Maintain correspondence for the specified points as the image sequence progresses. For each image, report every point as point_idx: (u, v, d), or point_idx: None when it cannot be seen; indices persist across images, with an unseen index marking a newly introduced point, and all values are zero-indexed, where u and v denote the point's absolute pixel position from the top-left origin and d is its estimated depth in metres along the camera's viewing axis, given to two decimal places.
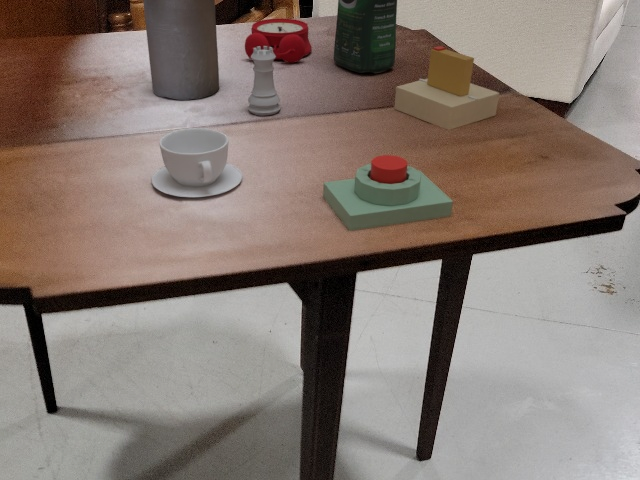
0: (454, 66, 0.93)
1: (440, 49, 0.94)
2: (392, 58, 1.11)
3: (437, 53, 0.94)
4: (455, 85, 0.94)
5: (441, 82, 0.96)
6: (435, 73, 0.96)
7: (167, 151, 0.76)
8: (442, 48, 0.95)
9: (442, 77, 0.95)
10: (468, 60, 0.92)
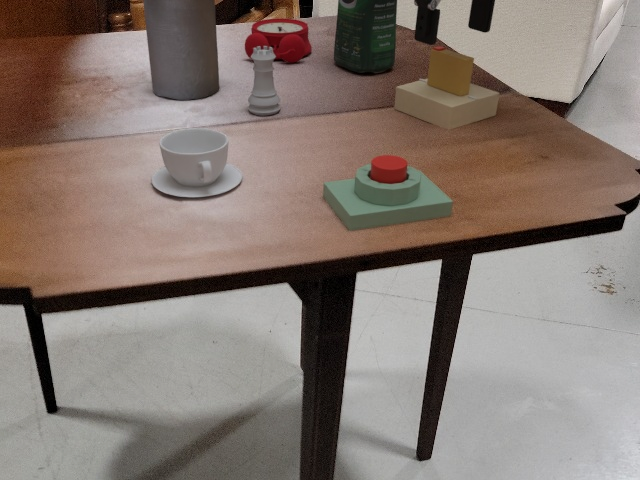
0: (454, 66, 0.93)
1: (440, 49, 0.94)
2: (392, 58, 1.11)
3: (437, 53, 0.94)
4: (455, 85, 0.94)
5: (441, 82, 0.96)
6: (435, 73, 0.96)
7: (167, 151, 0.76)
8: (442, 48, 0.95)
9: (442, 77, 0.95)
10: (468, 60, 0.92)
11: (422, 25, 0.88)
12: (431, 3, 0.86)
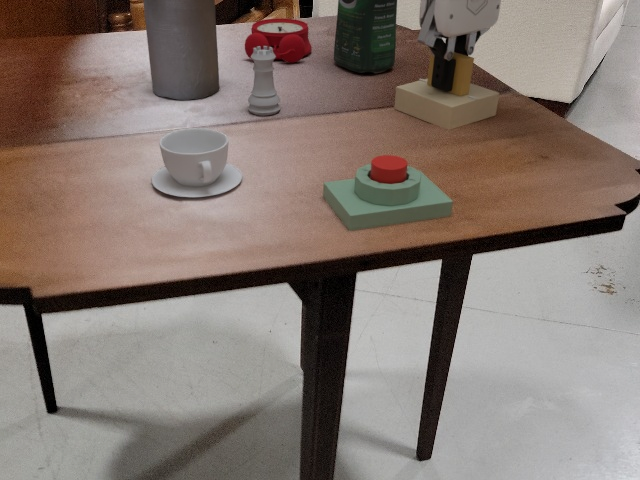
0: None
1: None
2: (392, 58, 1.11)
3: None
4: (455, 85, 0.94)
5: None
6: None
7: (167, 151, 0.76)
8: None
9: None
10: (468, 60, 0.92)
11: (438, 74, 0.94)
12: (447, 57, 0.91)
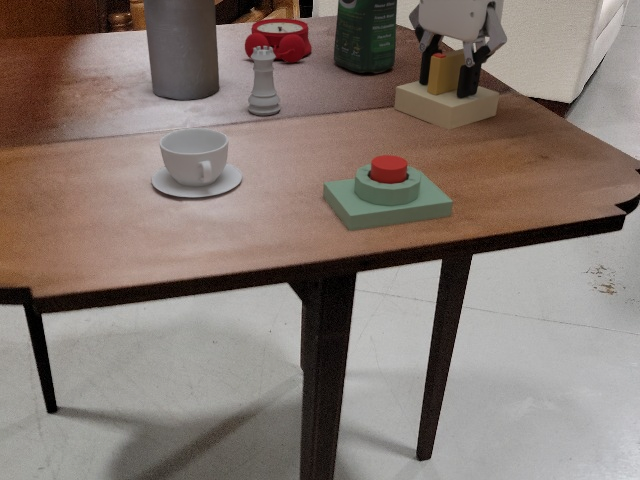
0: (462, 62, 0.94)
1: (443, 55, 0.92)
2: (392, 58, 1.11)
3: (447, 59, 0.92)
4: None
5: (450, 84, 0.95)
6: (444, 79, 0.94)
7: (167, 151, 0.76)
8: None
9: (451, 79, 0.95)
10: None
11: (474, 81, 0.92)
12: None
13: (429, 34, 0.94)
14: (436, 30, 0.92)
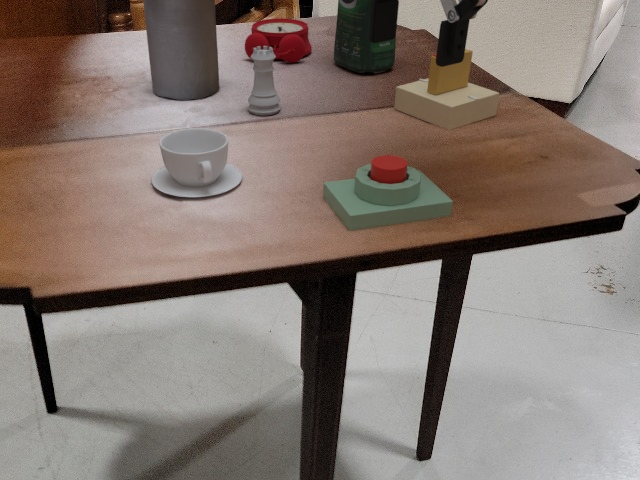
0: (462, 62, 0.94)
1: None
2: (392, 58, 1.11)
3: None
4: (463, 79, 0.96)
5: (450, 84, 0.95)
6: (444, 79, 0.94)
7: (167, 151, 0.76)
8: None
9: (451, 79, 0.95)
10: None
11: (460, 43, 0.68)
12: None
13: None
14: None
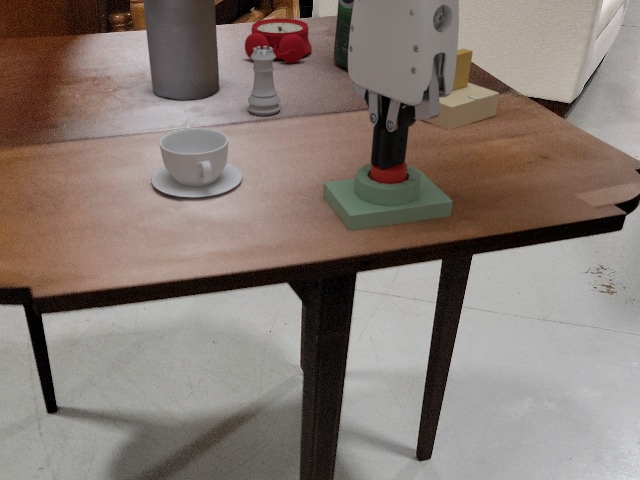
0: (462, 62, 0.94)
1: None
2: None
3: None
4: (463, 79, 0.96)
5: None
6: None
7: (167, 151, 0.76)
8: None
9: None
10: None
11: (400, 148, 0.71)
12: (413, 122, 0.70)
13: (375, 96, 0.69)
14: (369, 87, 0.68)
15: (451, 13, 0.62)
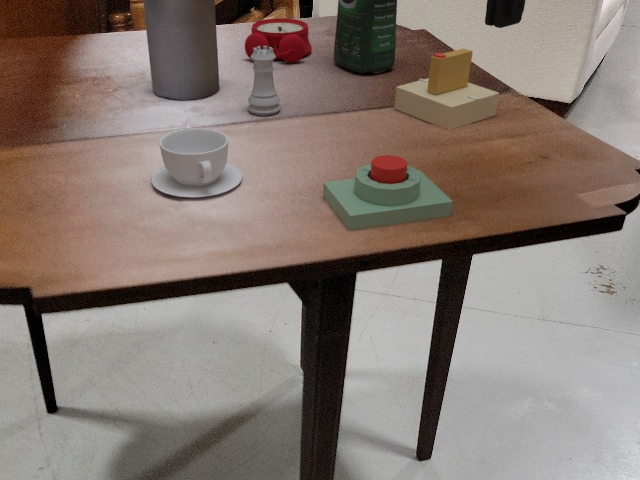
0: (462, 62, 0.94)
1: (443, 55, 0.92)
2: (392, 58, 1.11)
3: (447, 59, 0.92)
4: (463, 79, 0.96)
5: (450, 84, 0.95)
6: (444, 79, 0.94)
7: (167, 151, 0.76)
8: None
9: (451, 79, 0.95)
10: None
11: (519, 2, 0.65)
12: None
13: None
14: None
15: None
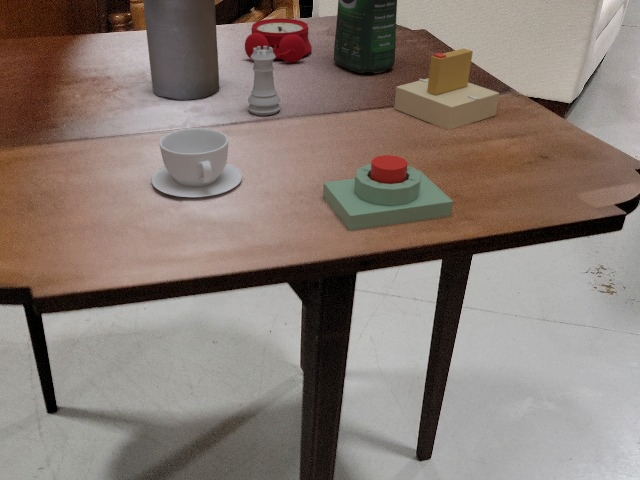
0: (462, 62, 0.94)
1: (443, 55, 0.92)
2: (392, 58, 1.11)
3: (447, 59, 0.92)
4: (463, 79, 0.96)
5: (450, 84, 0.95)
6: (444, 79, 0.94)
7: (167, 151, 0.76)
8: None
9: (451, 79, 0.95)
10: None
11: None
12: None
13: None
14: None
15: None
